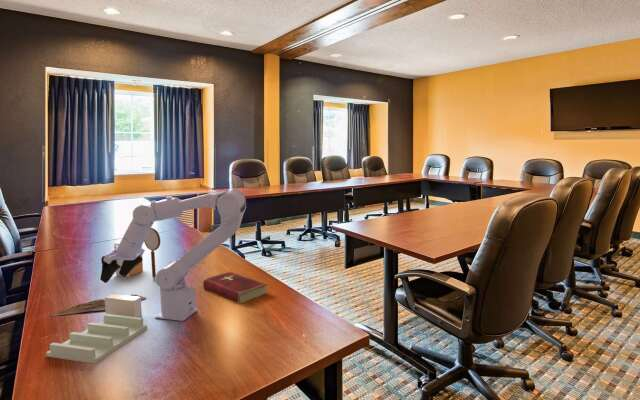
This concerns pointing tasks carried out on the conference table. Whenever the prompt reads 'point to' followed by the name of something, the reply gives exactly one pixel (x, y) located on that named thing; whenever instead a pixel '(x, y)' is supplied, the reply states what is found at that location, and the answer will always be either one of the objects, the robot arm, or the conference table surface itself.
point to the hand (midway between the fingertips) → (113, 278)
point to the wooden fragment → (87, 307)
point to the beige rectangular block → (123, 305)
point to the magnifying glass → (153, 246)
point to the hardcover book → (234, 286)
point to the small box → (135, 270)
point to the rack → (98, 339)
